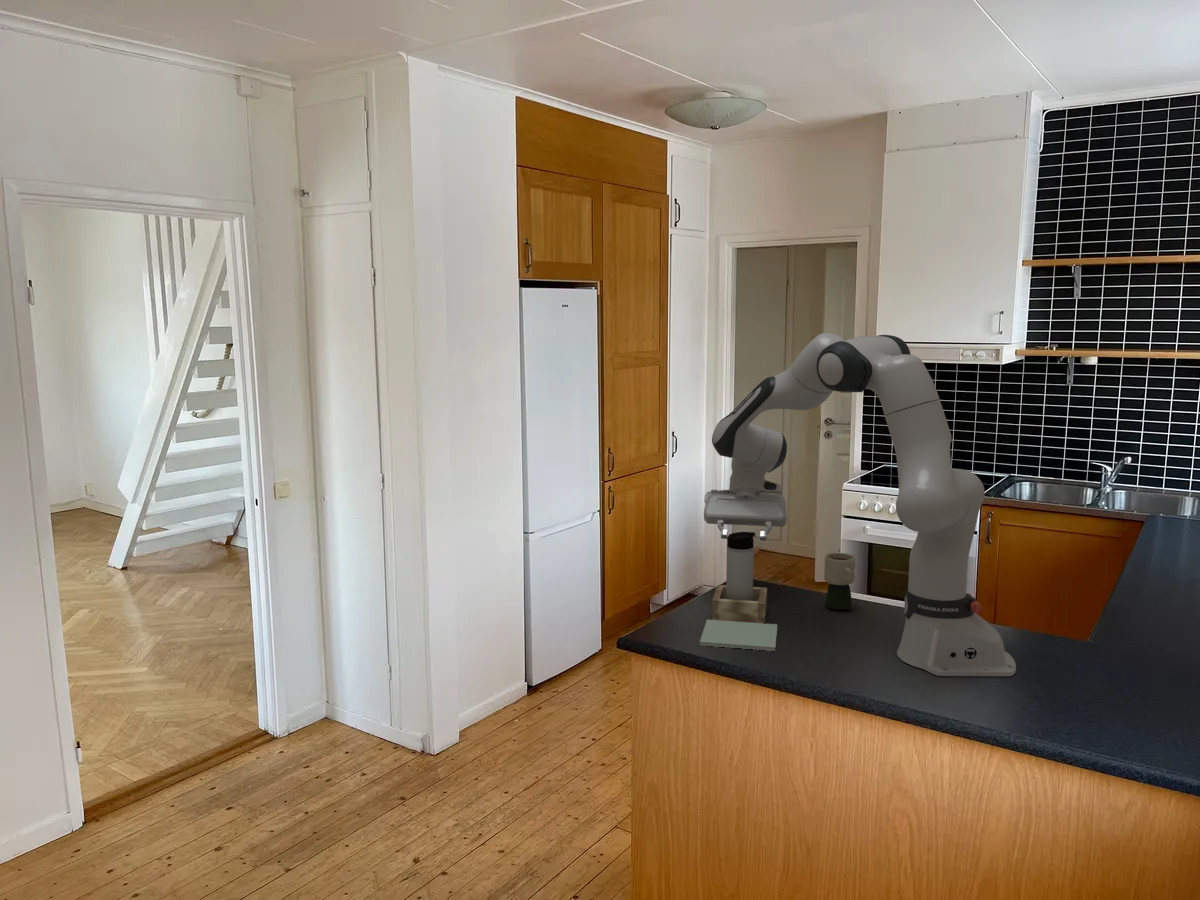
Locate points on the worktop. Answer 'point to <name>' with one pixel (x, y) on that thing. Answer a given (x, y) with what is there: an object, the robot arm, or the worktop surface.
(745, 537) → the travel mug
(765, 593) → the birch holder
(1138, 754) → the worktop surface
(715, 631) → the sage mat
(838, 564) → the character mug
